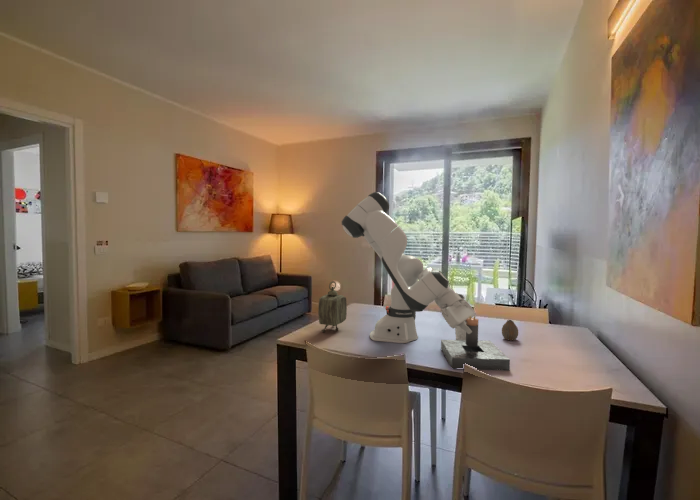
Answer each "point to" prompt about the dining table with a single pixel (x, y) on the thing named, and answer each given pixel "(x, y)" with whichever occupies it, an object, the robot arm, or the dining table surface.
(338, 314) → the tabletop clock
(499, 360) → the socket block
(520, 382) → the dining table surface
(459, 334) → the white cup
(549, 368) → the dining table surface
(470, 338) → the plug
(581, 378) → the dining table surface
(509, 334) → the brown textured egg shape
